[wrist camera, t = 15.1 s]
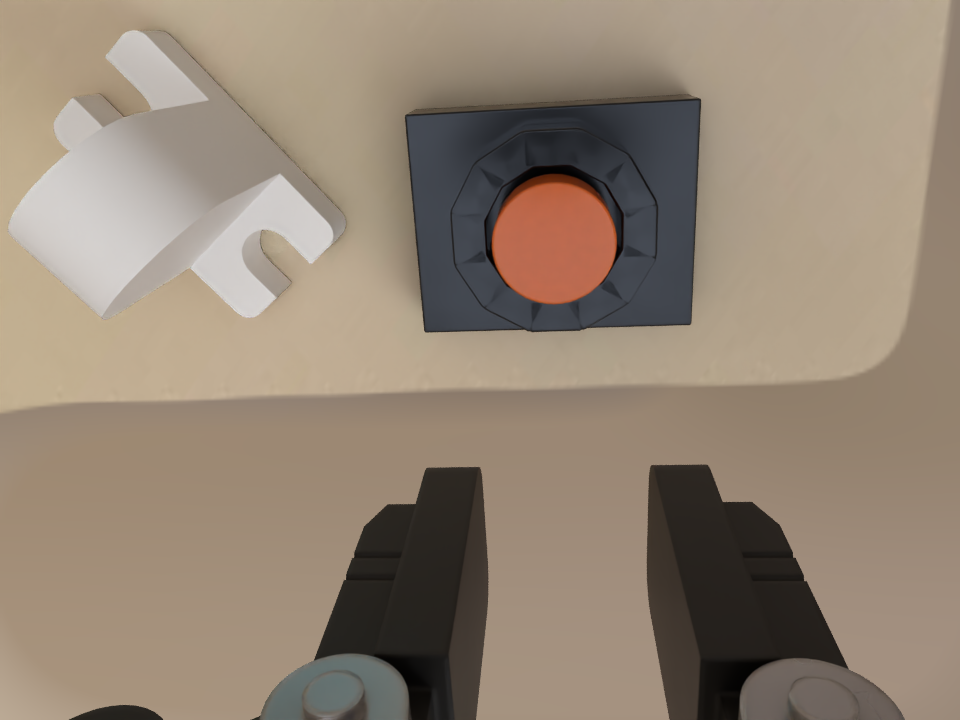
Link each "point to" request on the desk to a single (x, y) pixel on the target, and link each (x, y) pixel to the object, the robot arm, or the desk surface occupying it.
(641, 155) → the button housing
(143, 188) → the white mounting bracket
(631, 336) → the desk surface
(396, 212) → the desk surface
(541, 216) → the button
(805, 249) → the desk surface
